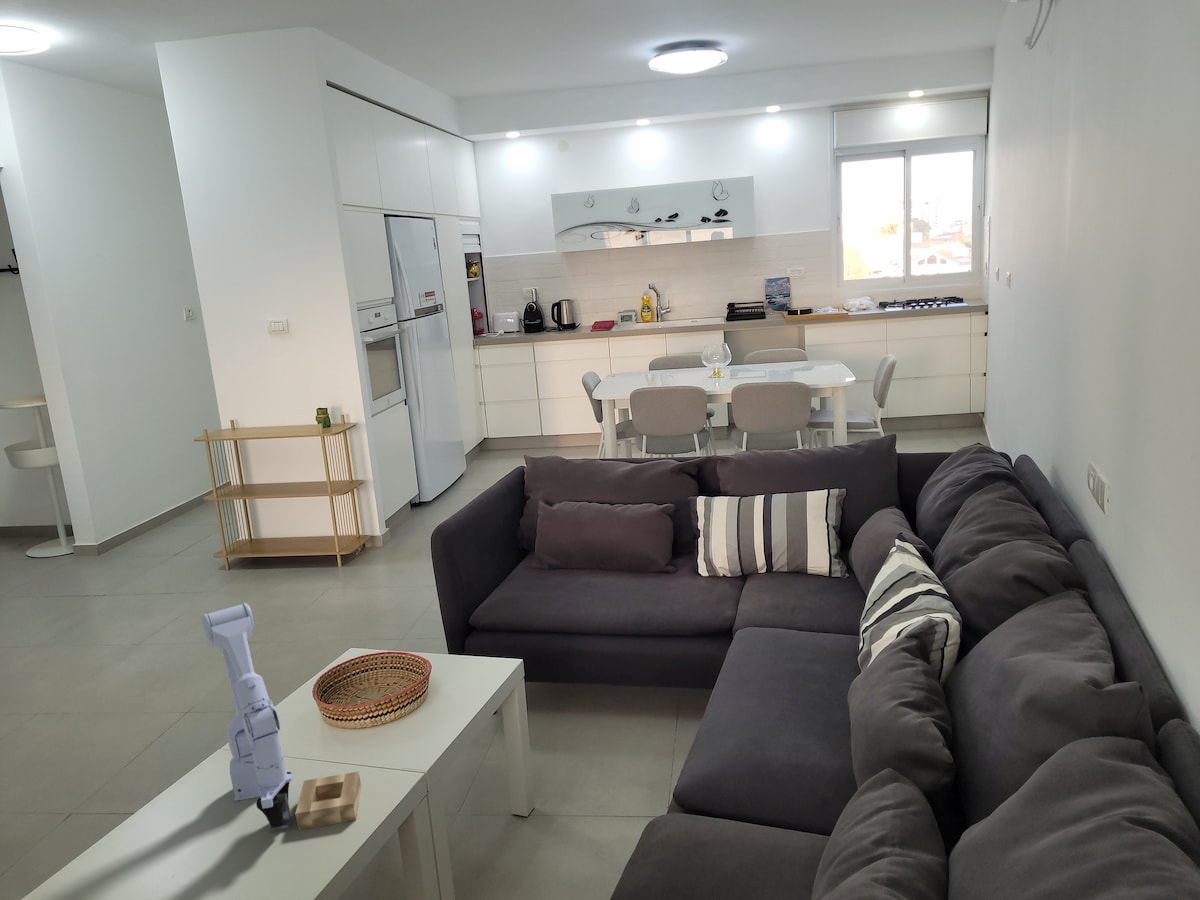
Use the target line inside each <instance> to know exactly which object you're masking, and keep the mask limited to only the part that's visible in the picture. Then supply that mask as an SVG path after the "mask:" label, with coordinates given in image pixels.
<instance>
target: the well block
mask: <svg viewBox="0 0 1200 900" xmlns="http://www.w3.org/2000/svg"><path fill="white" fill-rule="evenodd" d="M361 791H362V783H361V778H360V773H359V771H355V772H347V773H342V774H338V775H337V774H335V775H329V776H324V777H319V778H313V779H307V780H303V782H302V787H301V790H300V795H299V799H298V802H297V806H296V809H295V813H294V814H295V820H296V823H297V829H298V831H299V830H308V829H311V828H312V829H313V828H317V827H323V826H324V827H325V826H329V825H335V824H339V823H345V822H353V821H357V816H358V810H359V803H360V798H361Z"/></svg>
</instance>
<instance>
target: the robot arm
mask: <svg viewBox="0 0 1200 900" xmlns="http://www.w3.org/2000/svg"><path fill="white" fill-rule="evenodd" d="M252 612H253V611H252V609H251V607H250V605H249V604H248V603H246V602H244V603H242V604H238V605H233V606H231V607H228V608H224V609H221V610H217V611H214V612H210V613H204V614H203V615H202V616H201V622H202V623H201V624H202V627H203V631H204V634H205V638H206V643H207V645H209V647H210V648H217V649H218V650H219V651H220V653H221V655H222V659H223V664H224V667H225V671H226V675H227V681H228V684H229V687H230V693H231V697H232V700H233V704H234V708H235V713H236V715H235V717H234V718H232V720H231V721H230V722H229V723H228V725H227V729H226V732H227V733H226V734H227V741H228V745H229V749H230V753H231V755H232V756H231V758H230V762H229V774H230V781H231V784H232V785H231V786H232V789H233V793H234V794H233V796H234V798H233V799H234V801H235V802H237V801H244V800H249V799H254V798H255V799H256V798H257V801H256V803H255V805H256V808H257V809H258V810H259V811H260V812H262V814H264V816H265V818H266V819H267V821H268V822H269V826H270V825H271V827H272V828H275V827H281V826H282V824H283V803H284V800H285V796H281V797H277V796H275V795H276V794H281V793H286V794H287V799H288V800H289V788H290V783H291V782H292V780H293V777H294V776H293V773H292V772H291V771H287V769H286V765H285V761H284V755H283V749H282V745H281V739H280V735H279V731H281V724H280V719H279V718H280V717H279V715H278V712H277V709H276V707H275V706H274V705H275V704H273V700H272V699H270V697H269V694H268V690H267V687H266V685H265V682H264V678H263V676H261V675H260V674H258V673H256V672H255V669H254V664H253V659H252V657H251V656H252V655H251V651H250V645H249V642H248V640H249V639H251V637H252V636H253V629H254V627H255V622H254V621H255V620H254V617H253V616H254V615H253V613H252ZM259 797H261V798H259Z"/></svg>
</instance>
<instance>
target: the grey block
mask: <svg viewBox="0 0 1200 900" xmlns="http://www.w3.org/2000/svg"><path fill="white" fill-rule="evenodd" d="M275 796H277V797H281V796H285V800H284V803H283V824H282V826H281V827H275V828H272V827H271V825H270V824H269V833H274V832H280V831H285V830H290V829H291V826H292V822H293V817H294V815H293V813H291V810H290V806H289V805H290V804H289V798H288V799H287V794H286V793H281V794H276V795H275Z"/></svg>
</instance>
